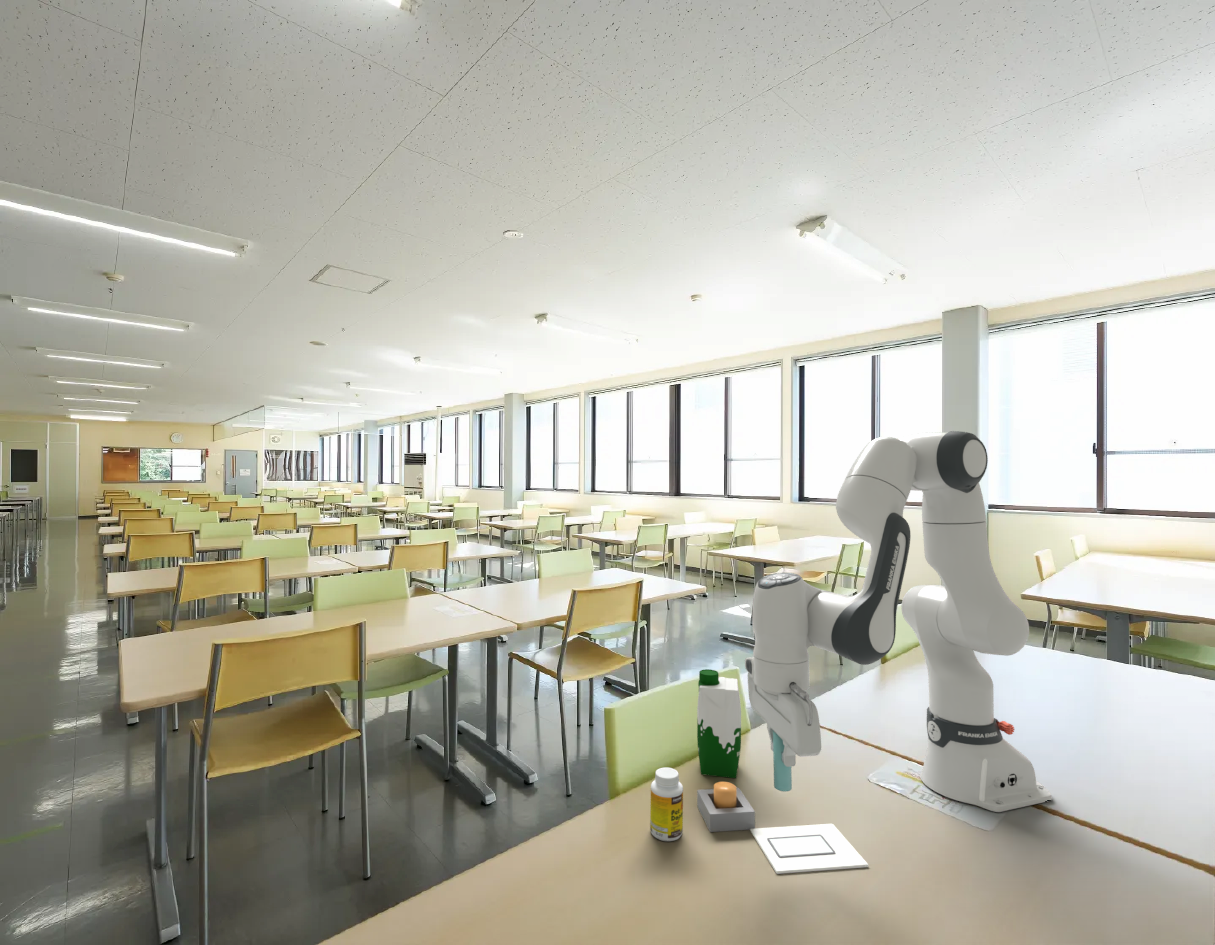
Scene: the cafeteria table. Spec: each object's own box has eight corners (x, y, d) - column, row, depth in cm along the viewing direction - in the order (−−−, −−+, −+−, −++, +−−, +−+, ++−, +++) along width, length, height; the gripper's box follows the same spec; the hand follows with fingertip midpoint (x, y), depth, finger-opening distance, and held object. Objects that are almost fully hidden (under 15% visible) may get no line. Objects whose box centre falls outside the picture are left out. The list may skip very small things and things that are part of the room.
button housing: (738, 803, 107) (738, 787, 108) (754, 829, 100) (754, 811, 100) (697, 806, 106) (697, 789, 107) (709, 831, 99) (710, 814, 99)
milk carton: (698, 756, 126) (698, 665, 127) (740, 761, 124) (740, 668, 125) (696, 776, 118) (696, 678, 118) (741, 781, 116) (741, 681, 116)
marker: (787, 781, 96) (786, 720, 96) (794, 790, 93) (793, 727, 93) (771, 783, 95) (770, 721, 96) (778, 792, 93) (777, 728, 93)
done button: (732, 799, 105) (732, 781, 105) (739, 812, 101) (739, 792, 101) (710, 801, 105) (711, 782, 105) (717, 813, 101) (717, 793, 101)
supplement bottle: (672, 847, 94) (673, 784, 95) (644, 835, 98) (644, 774, 98) (688, 831, 99) (689, 770, 99) (660, 820, 102) (661, 761, 102)
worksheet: (832, 825, 101) (832, 822, 101) (868, 867, 90) (868, 863, 90) (750, 831, 99) (750, 828, 99) (776, 873, 88) (776, 870, 88)
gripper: (831, 695, 85) (833, 790, 84) (774, 654, 105) (775, 730, 105) (790, 697, 84) (792, 793, 84) (741, 656, 104) (742, 733, 104)
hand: (782, 758), depth 94 cm, fingers closed on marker, 3 cm apart
